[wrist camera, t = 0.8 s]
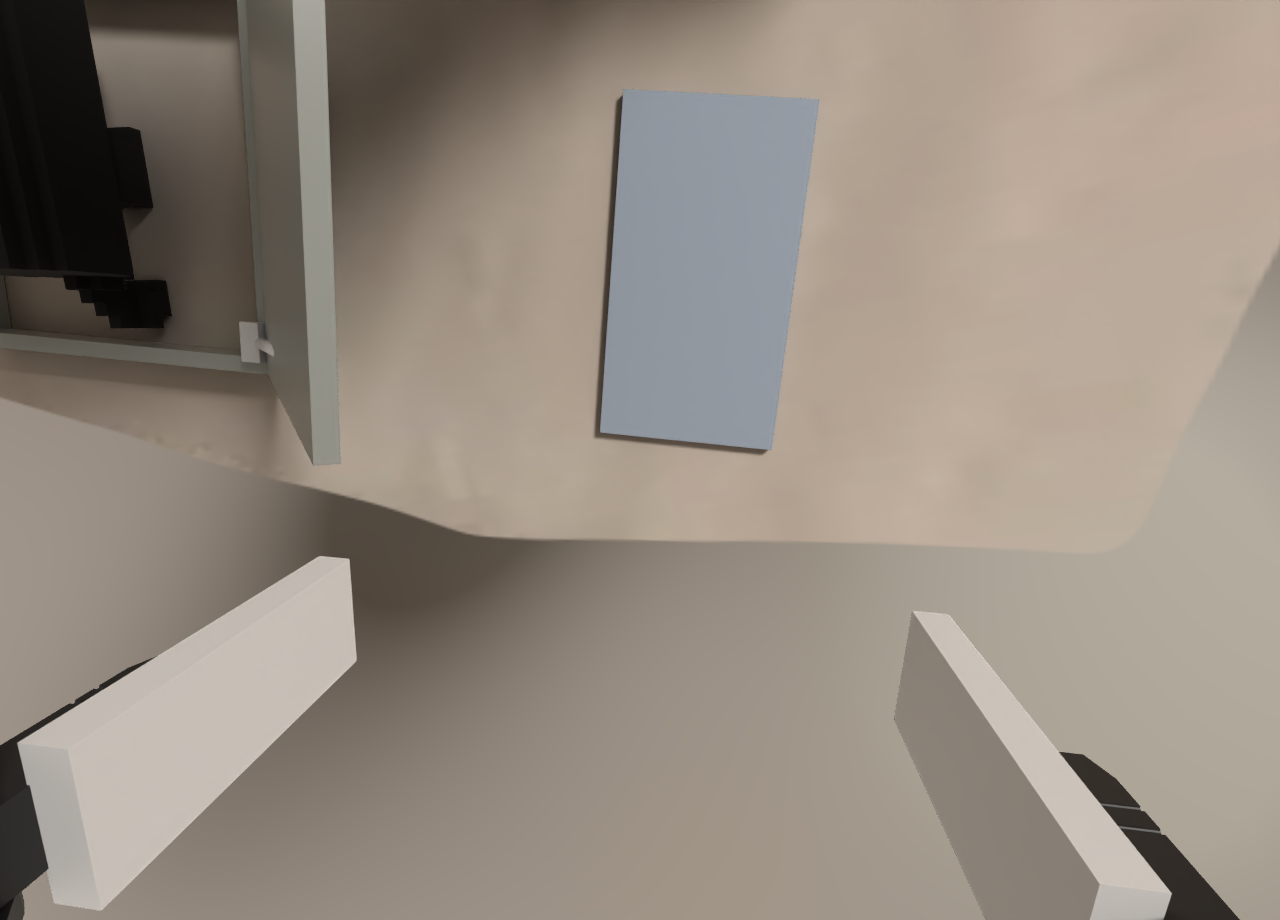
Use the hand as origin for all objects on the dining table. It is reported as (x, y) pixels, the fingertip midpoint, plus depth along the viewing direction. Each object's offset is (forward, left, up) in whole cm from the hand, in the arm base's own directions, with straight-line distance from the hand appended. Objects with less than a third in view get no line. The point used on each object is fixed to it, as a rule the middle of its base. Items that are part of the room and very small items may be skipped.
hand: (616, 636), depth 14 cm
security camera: (-13, -37, -26) cm, 47 cm away
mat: (-10, +1, -26) cm, 28 cm away
